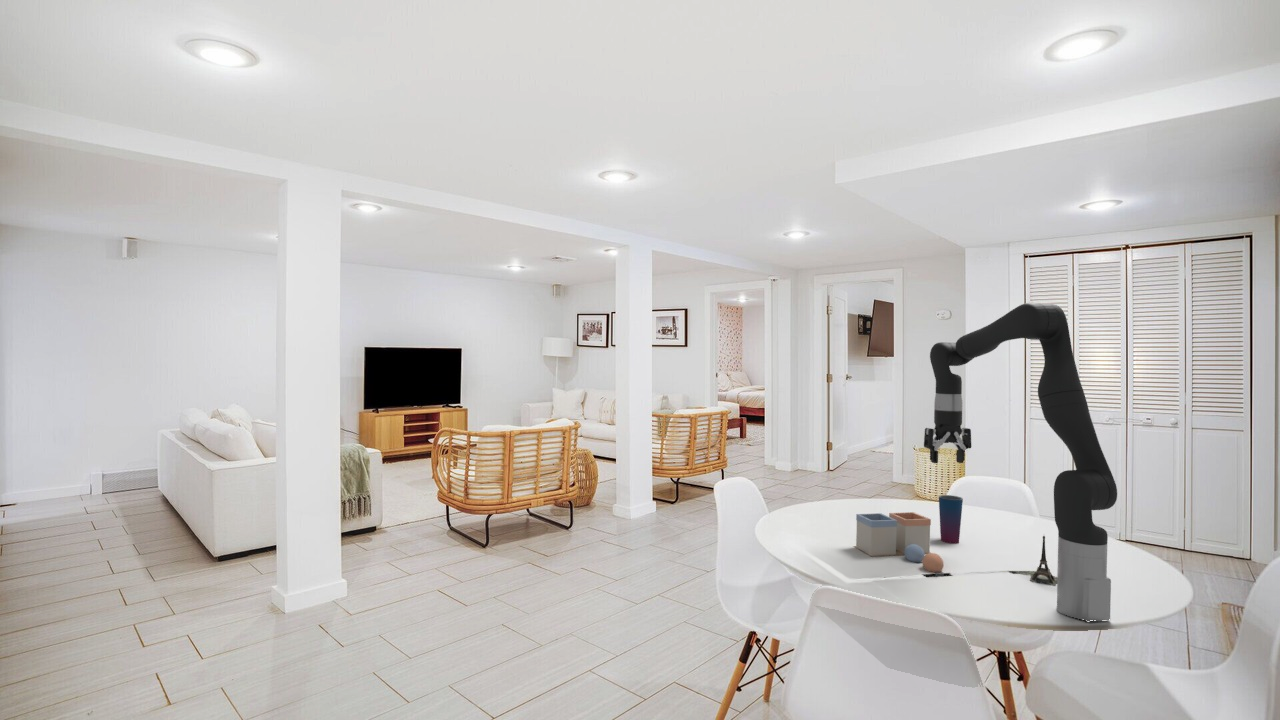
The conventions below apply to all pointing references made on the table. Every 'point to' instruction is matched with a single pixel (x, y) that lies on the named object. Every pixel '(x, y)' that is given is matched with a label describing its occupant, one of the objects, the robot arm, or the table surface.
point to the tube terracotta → (912, 531)
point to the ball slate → (914, 553)
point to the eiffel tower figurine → (1040, 571)
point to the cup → (950, 518)
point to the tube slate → (876, 534)
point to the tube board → (886, 555)
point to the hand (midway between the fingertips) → (947, 462)
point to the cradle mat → (935, 574)
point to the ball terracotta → (933, 562)
